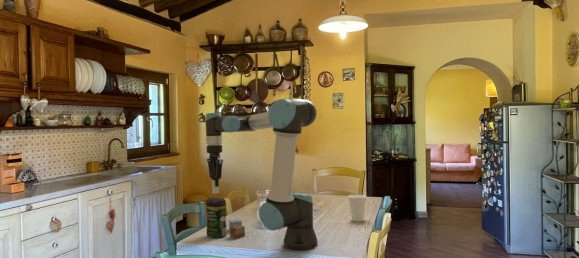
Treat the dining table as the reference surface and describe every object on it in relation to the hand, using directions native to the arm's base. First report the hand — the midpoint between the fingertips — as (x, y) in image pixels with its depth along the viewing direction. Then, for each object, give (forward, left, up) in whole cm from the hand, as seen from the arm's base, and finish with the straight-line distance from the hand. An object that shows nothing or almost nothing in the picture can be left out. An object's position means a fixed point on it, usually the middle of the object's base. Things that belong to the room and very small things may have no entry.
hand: (215, 193), depth 194 cm
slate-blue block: (+3, -12, -21) cm, 24 cm away
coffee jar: (0, 0, -21) cm, 21 cm away
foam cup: (-24, -73, -21) cm, 80 cm away
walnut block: (-8, -7, -21) cm, 24 cm away
